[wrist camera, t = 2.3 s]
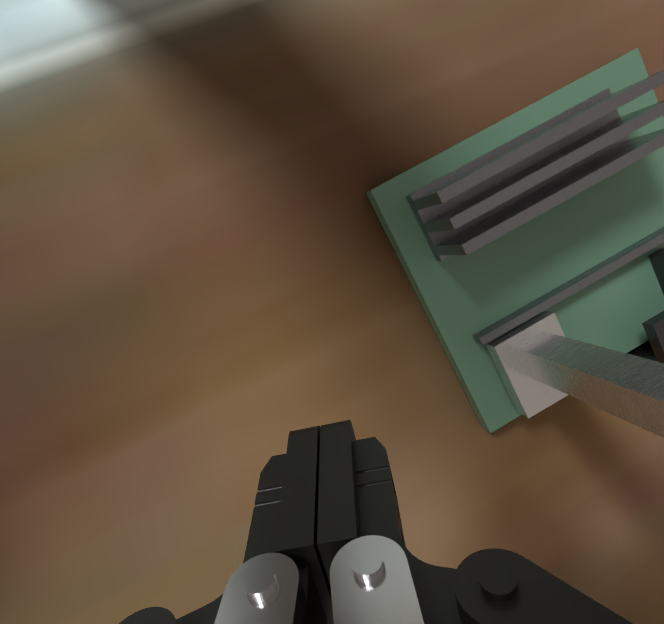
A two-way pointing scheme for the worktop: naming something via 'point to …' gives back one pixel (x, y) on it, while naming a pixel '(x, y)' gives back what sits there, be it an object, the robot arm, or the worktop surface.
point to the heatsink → (546, 194)
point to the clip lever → (577, 374)
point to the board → (537, 247)
